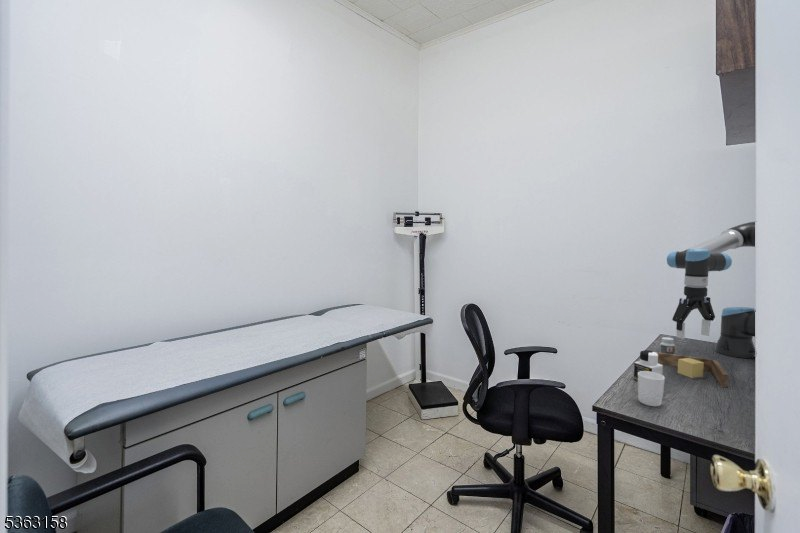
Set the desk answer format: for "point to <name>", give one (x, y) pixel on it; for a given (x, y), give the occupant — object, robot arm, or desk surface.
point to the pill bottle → (667, 345)
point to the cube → (690, 367)
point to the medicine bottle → (647, 363)
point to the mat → (690, 377)
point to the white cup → (650, 388)
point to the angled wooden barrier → (708, 363)
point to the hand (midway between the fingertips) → (692, 336)
